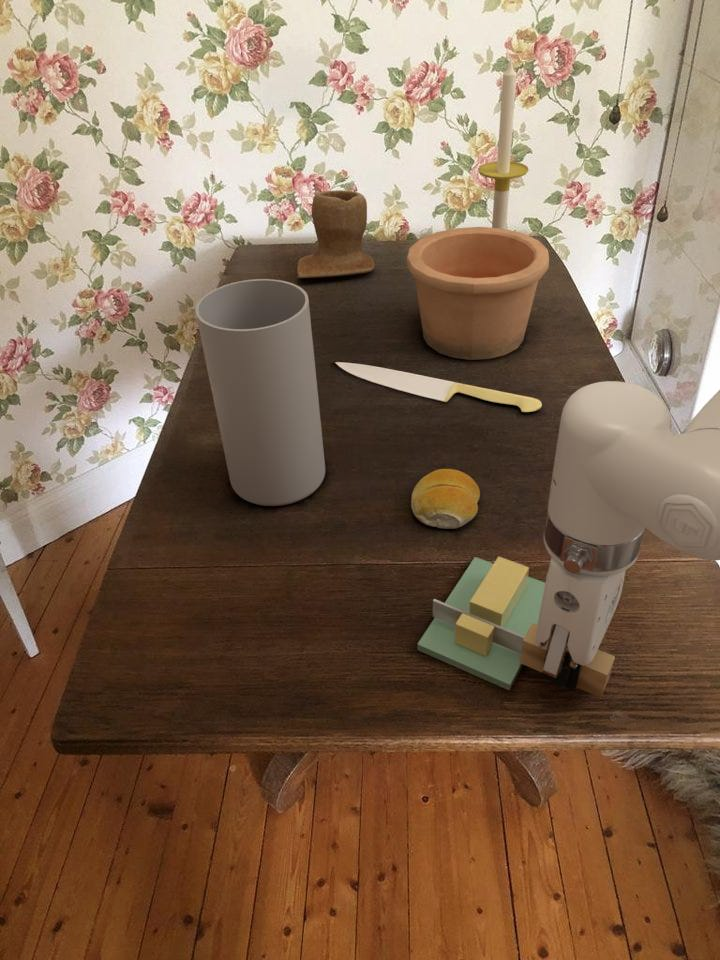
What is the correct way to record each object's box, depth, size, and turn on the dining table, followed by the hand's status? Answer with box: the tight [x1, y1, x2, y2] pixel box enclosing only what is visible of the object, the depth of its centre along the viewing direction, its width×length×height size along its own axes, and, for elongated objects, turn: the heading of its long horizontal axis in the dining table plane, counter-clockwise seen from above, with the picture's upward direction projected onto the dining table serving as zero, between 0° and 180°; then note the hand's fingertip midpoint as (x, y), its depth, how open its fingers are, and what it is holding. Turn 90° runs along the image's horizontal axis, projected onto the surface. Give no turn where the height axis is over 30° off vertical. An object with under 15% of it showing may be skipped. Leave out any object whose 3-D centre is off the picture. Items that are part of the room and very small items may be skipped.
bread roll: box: [410, 468, 481, 530], centre depth 92 cm, size 8×9×4 cm
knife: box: [334, 361, 543, 413], centre depth 114 cm, size 1×34×5 cm
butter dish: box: [416, 555, 546, 691], centre depth 78 cm, size 10×14×4 cm
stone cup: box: [296, 189, 375, 279], centre depth 144 cm, size 15×12×15 cm
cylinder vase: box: [194, 278, 326, 507], centre depth 91 cm, size 12×12×25 cm
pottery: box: [406, 226, 550, 361], centre depth 121 cm, size 22×22×14 cm
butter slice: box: [455, 613, 494, 656], centre depth 75 cm, size 4×2×3 cm, turn 59°
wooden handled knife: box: [432, 598, 616, 699], centre depth 73 cm, size 18×2×4 cm, turn 59°
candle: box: [477, 55, 530, 230], centre depth 130 cm, size 10×10×38 cm
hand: (564, 669), depth 72 cm, fingers closed on wooden handled knife, 2 cm apart
